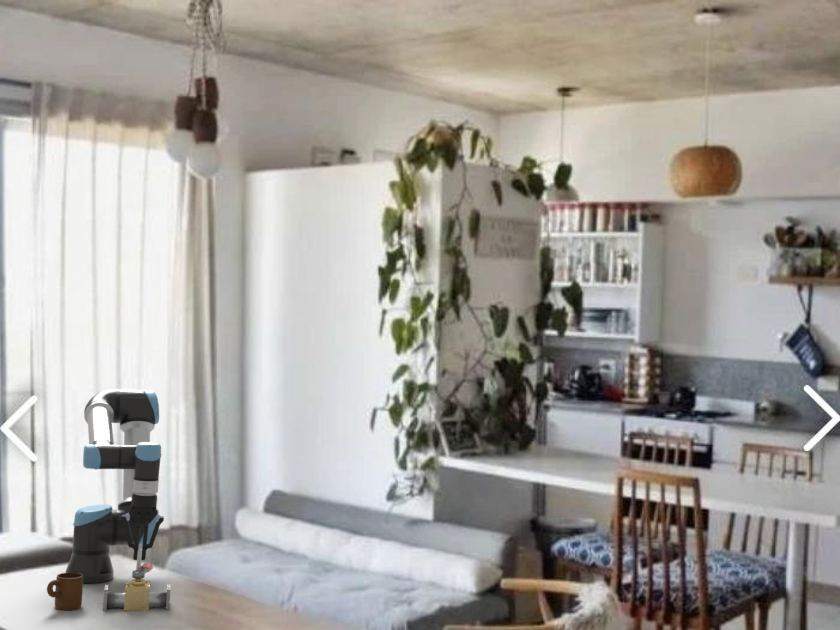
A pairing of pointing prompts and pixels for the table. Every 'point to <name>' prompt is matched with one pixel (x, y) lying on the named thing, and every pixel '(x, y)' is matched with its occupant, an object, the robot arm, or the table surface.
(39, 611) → the table surface
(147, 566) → the lever
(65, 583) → the mug
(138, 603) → the valve pipe
